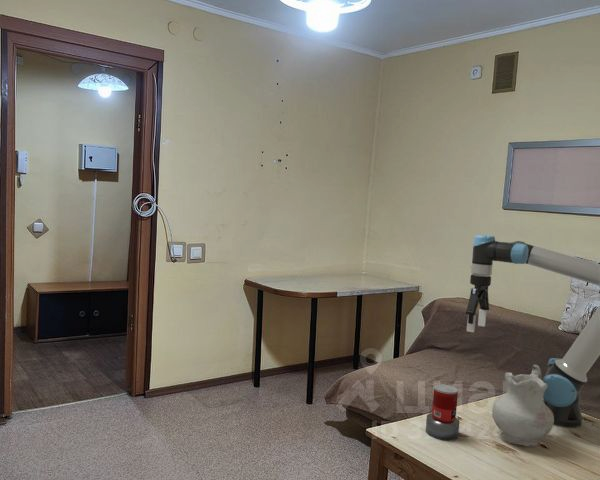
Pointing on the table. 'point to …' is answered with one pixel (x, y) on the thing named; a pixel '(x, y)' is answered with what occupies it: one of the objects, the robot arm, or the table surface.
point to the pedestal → (442, 429)
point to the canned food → (444, 403)
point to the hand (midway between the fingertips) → (476, 328)
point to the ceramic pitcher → (523, 409)
